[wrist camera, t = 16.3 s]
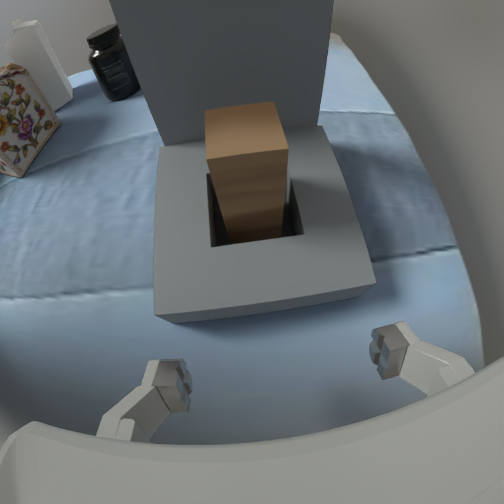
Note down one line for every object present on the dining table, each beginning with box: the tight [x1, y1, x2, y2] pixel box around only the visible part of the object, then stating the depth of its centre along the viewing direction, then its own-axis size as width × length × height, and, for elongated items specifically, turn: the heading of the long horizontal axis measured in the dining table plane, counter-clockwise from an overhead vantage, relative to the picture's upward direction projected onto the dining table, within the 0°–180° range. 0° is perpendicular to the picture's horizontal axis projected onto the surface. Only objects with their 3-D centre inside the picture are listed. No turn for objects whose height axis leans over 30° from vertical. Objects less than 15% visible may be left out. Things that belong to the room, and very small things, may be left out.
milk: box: [5, 18, 73, 112], centre depth 27 cm, size 6×6×22 cm
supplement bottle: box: [87, 24, 141, 101], centre depth 29 cm, size 7×7×12 cm
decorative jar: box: [0, 62, 61, 178], centre depth 24 cm, size 12×12×18 cm
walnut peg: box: [204, 102, 289, 245], centre depth 18 cm, size 4×4×11 cm
